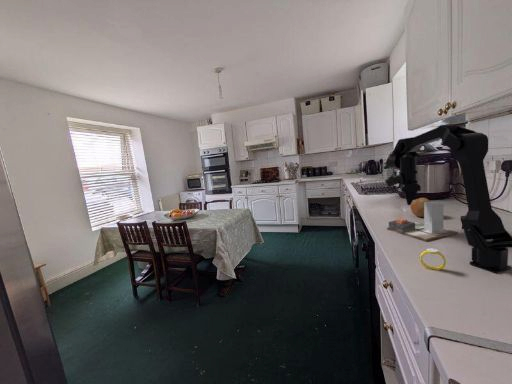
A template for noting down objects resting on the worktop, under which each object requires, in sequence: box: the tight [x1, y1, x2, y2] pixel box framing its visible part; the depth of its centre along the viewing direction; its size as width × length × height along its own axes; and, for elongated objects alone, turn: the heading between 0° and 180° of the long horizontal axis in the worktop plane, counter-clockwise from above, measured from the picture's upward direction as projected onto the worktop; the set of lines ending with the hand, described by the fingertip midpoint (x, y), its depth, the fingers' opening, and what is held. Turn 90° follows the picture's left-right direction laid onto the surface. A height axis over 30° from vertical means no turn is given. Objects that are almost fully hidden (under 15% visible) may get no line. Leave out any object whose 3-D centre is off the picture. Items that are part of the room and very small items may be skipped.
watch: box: [419, 247, 447, 271], centre depth 67 cm, size 6×3×6 cm, turn 53°
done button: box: [395, 217, 408, 224], centre depth 99 cm, size 3×3×3 cm
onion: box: [410, 197, 432, 218], centre depth 116 cm, size 10×10×10 cm
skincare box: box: [423, 201, 444, 233], centre depth 93 cm, size 6×4×12 cm
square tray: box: [386, 219, 459, 243], centre depth 96 cm, size 18×17×4 cm
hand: (409, 204), depth 95 cm, fingers closed
